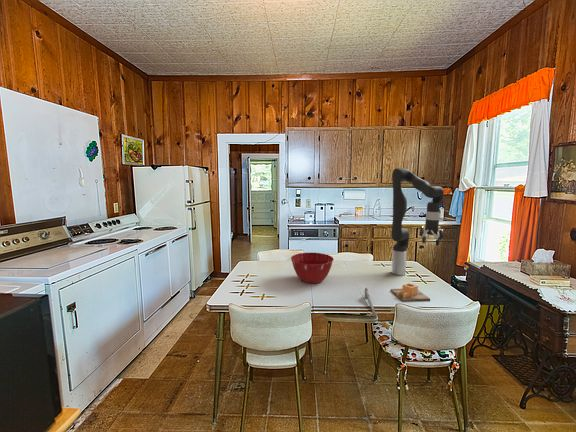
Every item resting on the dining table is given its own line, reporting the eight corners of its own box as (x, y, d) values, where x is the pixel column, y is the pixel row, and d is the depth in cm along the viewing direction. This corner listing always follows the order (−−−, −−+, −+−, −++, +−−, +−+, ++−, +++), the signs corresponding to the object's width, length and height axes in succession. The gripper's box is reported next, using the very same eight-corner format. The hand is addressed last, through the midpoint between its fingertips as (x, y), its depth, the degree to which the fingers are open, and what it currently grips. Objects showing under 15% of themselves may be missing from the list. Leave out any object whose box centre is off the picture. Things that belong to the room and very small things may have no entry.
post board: (390, 290, 182) (391, 282, 181) (415, 290, 183) (416, 281, 182) (402, 301, 166) (403, 292, 165) (430, 300, 167) (430, 291, 166)
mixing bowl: (331, 289, 184) (332, 265, 182) (286, 285, 190) (287, 262, 188) (334, 274, 211) (334, 253, 210) (294, 272, 217) (294, 251, 215)
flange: (408, 290, 178) (408, 282, 178) (417, 294, 174) (417, 285, 173) (395, 295, 172) (396, 286, 171) (405, 298, 167) (405, 290, 166)
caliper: (364, 297, 172) (364, 286, 171) (366, 297, 172) (366, 286, 171) (372, 313, 152) (373, 301, 151) (375, 313, 152) (375, 301, 151)
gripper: (447, 219, 180) (444, 246, 182) (425, 217, 191) (423, 241, 194) (440, 220, 175) (438, 247, 178) (418, 217, 187) (416, 242, 189)
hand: (430, 244), depth 186 cm, fingers open, 8 cm apart
